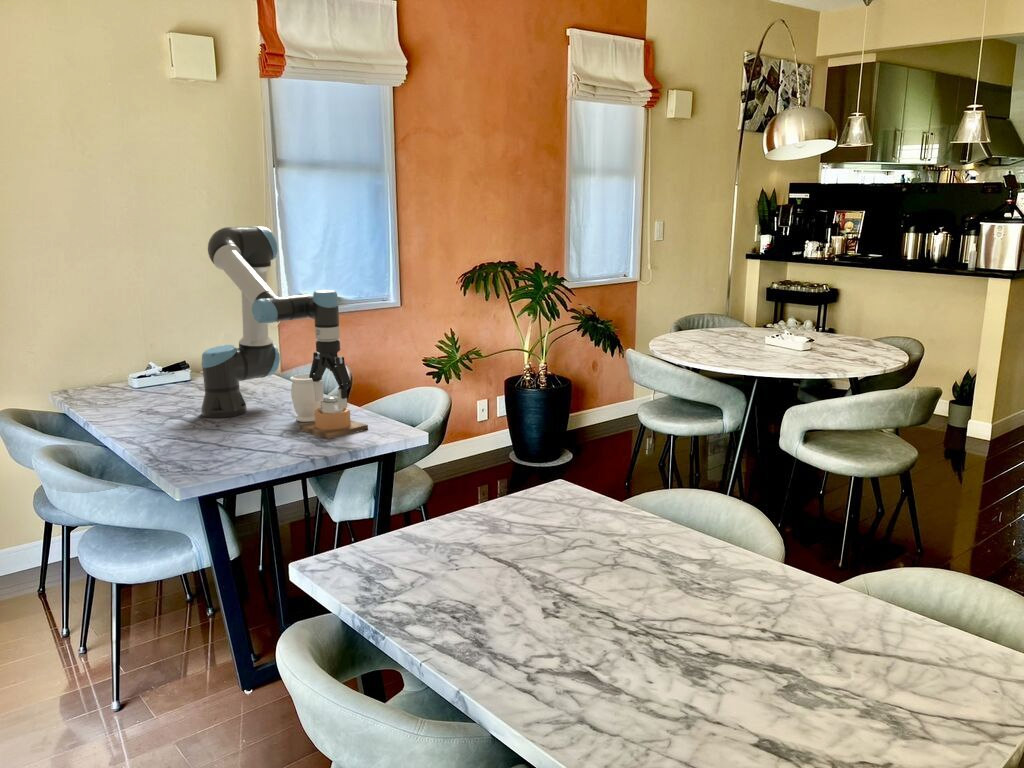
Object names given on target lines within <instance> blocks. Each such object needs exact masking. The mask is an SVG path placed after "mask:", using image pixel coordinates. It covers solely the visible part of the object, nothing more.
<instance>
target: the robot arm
mask: <svg viewBox="0 0 1024 768" xmlns="http://www.w3.org/2000/svg"><path fill="white" fill-rule="evenodd" d="M207 243H208V244H207V253H208V257H209V259H210V261H211V263H212V264H214V266H215V267H216V268H217V269H219V270H222V271H223V272H224V273H225V274H226V275H227V276H228V277H229V279H230V280H231V281H232V282H233V283H234V285H236V287H238V289H239V290H240V291H241V314H242V315H241V316H242V337H241V339H239V340H238V347H236V346H235V345H234V344H233V345H232V344H225V345H218V346H214V347H210V348H208V349H206V350H204V351H203V353H202V354H201V367H202V374H203V378H202V379H203V385H204V397H203V400H202V403H201V404H202V405H201V408H200V410H201V416H202V417H204V418H212V419H217V418H218V419H221V418H231V417H232V418H233V417H236V416H241V415H243V414H246V413H247V412H248V411H247V409H248V408H247V407H248V406H247V403H246V400H245V399H244V397H243V393H242V392H241V389H240V382H241V381H247V380H253V379H264V378H266V377H269V376H272V375H274V374H275V373H276V372H277V371H278V369H279V366H280V360H281V355H280V351H279V349H278V347H277V345H276V344H273V340H272V339H271V338H270V337H269V324H272V323H278V322H285V321H286V322H287V321H294V320H302V319H313V320H314V330H315V331H314V333H315V335H314V336H315V339H316V341H315V351H313V359H312V362H311V363H312V364H311V367H310V371H309V374H310V375H309V378H312V380H313V381H314V390H315V401H316V402H317V401H322V400H323V398H324V397H323V392H324V385H323V375H324V373H325V372H326V370H327V369H328V370H329V371H330V372H331V373H332V375H333V377H334V379H335V381H336V383H337V385H338V388H337V396H338V400H339V409H343V408H347V407H348V388H351V387H352V382H351V380H350V379H351V378H350V376H349V373H348V370H347V367H346V366H347V365H346V364H345V357H344V356H339V355H338V353H339V352H340V351H341V340H340V338H341V337H340V336H341V335H340V318H339V317H340V316H339V315H340V314H339V312H340V311H339V299H338V293H337V291H335V290H333V289H332V290H331V289H321V290H320V289H319V290H315V291H314V292H313V293H312V294H311V293H306V292H305V293H297V294H296V295H295V294H294V295H289V296H278V295H277V294H276V293H275V292H274V291H273V289H271V287H270V286H269V285H268V282H267V281H268V276H267V271H268V269H270V268H271V266H272V264H271V263H272V261H273V260H275V259H276V257H277V255H278V252H279V251H278V243H277V239H276V237H275V235H274V234H273V232H272V231H271V230H270V229H269V228H268V227H266V226H259V225H257V226H256V225H250V226H248V225H247V226H235V227H233V226H232V227H231V226H229V227H228V226H227V227H226V226H225V227H222V228H220V229H218V230H216V231H215V232H214V233H212V235H211V237H210V238H209V241H208V242H207ZM319 380H321V381H319Z"/></svg>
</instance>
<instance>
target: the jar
mask: <svg viewBox="0 0 1024 768" xmlns="http://www.w3.org/2000/svg"><path fill="white" fill-rule="evenodd" d="M309 375H310V373H301V374H296V375H293V376H290V379H289V380H290V382H291V389H290V392H291V393H290V395H291V400H292V404H293V409H294V412H295V413H296V421H297V422H301V423H310V422H315V410H316V409H318V408H321V401H317V402H316V401H315V390H314V381H313V380H312V378H309ZM319 381H322V380H319ZM324 396H325V395H324V391H323V398H324Z"/></svg>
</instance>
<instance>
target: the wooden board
mask: <svg viewBox="0 0 1024 768" xmlns="http://www.w3.org/2000/svg"><path fill="white" fill-rule="evenodd" d="M350 420H351V425H349V426H348V427H345V428H340V429H331V430H327V429H319V428H316V425H315V421H313V422H305V423H302V424H298V430H300V431H302V432H306V433H308V434H312V435H315V436H318V437H321V438H324V439H327V440H330V439H331V440H332V439H335V438H338V437H342V436H343V437H344V436H346V435H350V433H351V434H355V433H358V432H357V431H359V432H362V431H361V430H363V431H366V430H365V429H367V430H369V425H368V424H366V423H362V422H360V421H359V422H358V421H355V420H353V419H350ZM354 432H355V433H354Z"/></svg>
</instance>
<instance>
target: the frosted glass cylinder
mask: <svg viewBox="0 0 1024 768" xmlns="http://www.w3.org/2000/svg"><path fill="white" fill-rule="evenodd" d="M339 412H343V409H339V400H338V395H330V396H325V397H323V400H322V401H321V413H328V414H330V413H339Z"/></svg>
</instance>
